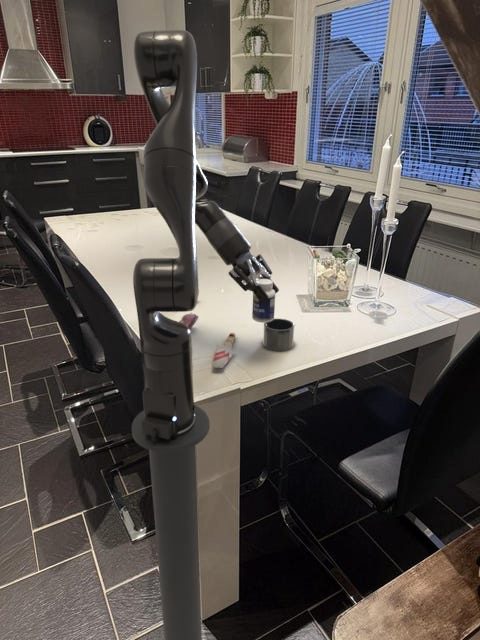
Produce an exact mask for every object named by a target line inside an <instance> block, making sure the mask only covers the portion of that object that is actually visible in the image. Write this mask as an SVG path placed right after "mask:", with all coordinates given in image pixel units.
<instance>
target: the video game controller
mask: <svg viewBox="0 0 480 640" xmlns="http://www.w3.org/2000/svg"><path fill="white" fill-rule="evenodd" d="M198 320H199V315H197V314H195V313H193V312H192V311H190V313H188V314H184V315H183V316H182V317H181V318H180V320H179V321H178V322H180V323H182V324H184V325H186V326H187V327H188V328H189V329H190V331H192V328H193V327H194V325H195V324H196V323H197V321H198Z"/></svg>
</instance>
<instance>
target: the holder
mask: <svg viewBox="0 0 480 640" xmlns="http://www.w3.org/2000/svg"><path fill="white" fill-rule="evenodd" d="M262 338H263V339H262V341H263V344H262V345H263V347H264V348H265V349H267V350H269V351H272V352H286V351H290V350H291V349H292V348H293V346H294V341H295V340H294V339H295V322H292V321H291V320H288V319H287V318H274V319H273V320H272V321H271V322H267V323H263V337H262Z"/></svg>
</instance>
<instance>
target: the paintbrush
mask: <svg viewBox="0 0 480 640" xmlns="http://www.w3.org/2000/svg"><path fill="white" fill-rule="evenodd" d="M235 339H236V333H235V332H230V333H229V334H228V336H227V338H226V340H225V342H224V344H217V346H216V350H215V353H214V356H213V360H212V363H211V368H218V369H220V368H221V369H223V368H224V367H225V366H226V365H227V364H228V363H229V361H230V360H231V359H232V358H233V344H234V341H235Z"/></svg>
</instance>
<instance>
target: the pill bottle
mask: <svg viewBox="0 0 480 640" xmlns="http://www.w3.org/2000/svg"><path fill="white" fill-rule="evenodd" d="M256 280H257V282H258V284H259V285H260V286H261V287H262V289H263V290H264V291H265V293H266V294H267V295H268V299H267V300H266V301H264V302H263V303H261V302H260V300H259V299H258V298H257V297H256V296H255V294H254V293H253V292H252V310H251V311H252V312H251V313H252V314H251V315H252V320H253V321H254V322H256V323H261V324H264V323H267V322H271V321H272V320H273V319H275V311H276V309H275V308H276V307H275V306H276V294H275V291H274V290H273V289H272V288H273V282H274V280H272V279H271V280H269V279H256ZM259 285H258V286H259Z"/></svg>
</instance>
